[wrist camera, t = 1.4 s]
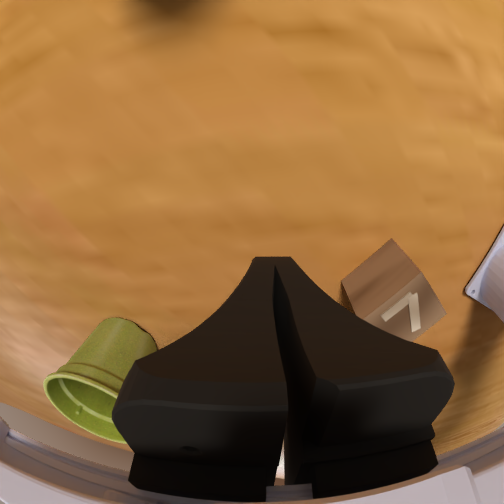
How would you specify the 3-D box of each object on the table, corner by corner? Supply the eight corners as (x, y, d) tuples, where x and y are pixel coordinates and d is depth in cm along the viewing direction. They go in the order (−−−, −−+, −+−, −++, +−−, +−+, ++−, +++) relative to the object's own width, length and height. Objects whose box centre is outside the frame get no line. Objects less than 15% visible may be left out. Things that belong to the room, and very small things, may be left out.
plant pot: (183, 377, 27) (167, 452, 19) (102, 368, 27) (74, 431, 19) (163, 303, 23) (130, 387, 15) (71, 299, 23) (23, 364, 15)
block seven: (418, 277, 22) (447, 314, 17) (373, 314, 23) (393, 356, 19) (391, 237, 20) (422, 272, 15) (340, 280, 22) (359, 323, 17)
